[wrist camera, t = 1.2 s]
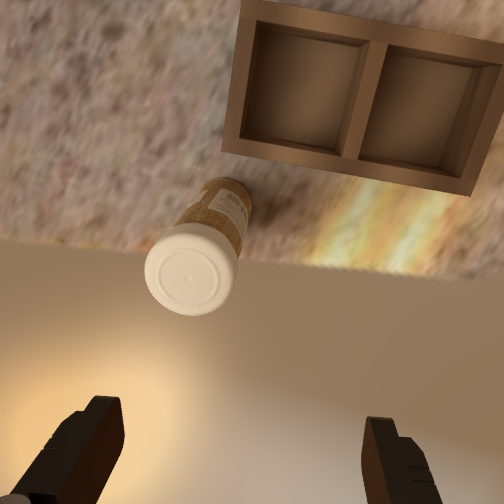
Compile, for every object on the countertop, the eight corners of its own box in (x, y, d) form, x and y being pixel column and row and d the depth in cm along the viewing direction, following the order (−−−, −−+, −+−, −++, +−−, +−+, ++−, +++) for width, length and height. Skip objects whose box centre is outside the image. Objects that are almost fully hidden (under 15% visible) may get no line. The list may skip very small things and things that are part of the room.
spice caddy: (230, 142, 30) (221, 151, 26) (248, 12, 27) (241, -4, 22) (442, 181, 30) (470, 196, 26) (487, 55, 27) (527, 48, 22)
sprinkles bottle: (189, 185, 32) (127, 246, 19) (244, 170, 31) (217, 224, 18) (206, 238, 33) (160, 327, 21) (260, 225, 32) (245, 309, 20)
